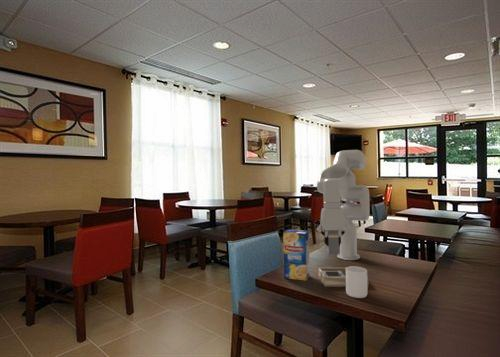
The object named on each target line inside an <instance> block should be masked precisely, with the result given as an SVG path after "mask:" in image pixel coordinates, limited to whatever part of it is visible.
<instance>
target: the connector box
mask: <svg viewBox="0 0 500 357" xmlns="http://www.w3.org/2000/svg"><path fill="white" fill-rule="evenodd" d="M317 271H318V273H317V275H318V278H319V280H320V281H321V284H322V285H323V286H324V288H346V267H318V269H317ZM369 283H370V282H369V276H367V288H369V286H370V284H369Z"/></svg>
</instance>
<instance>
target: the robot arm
mask: <svg viewBox="0 0 500 357" xmlns="http://www.w3.org/2000/svg"><path fill="white" fill-rule="evenodd" d="M366 166H367V158H366V156H365V154H364V152H362V151H361V150H359V149H346V150H340V151H338V152H336V154H335V156H334V159H333V161H332V165H331V166H328V167H327V168H326V169H323V171H321V173H320V174H319V176H318V179H317V182H316V189H317V191H318V193H321V194H323V195H322V196H323V208H321V211H320V221H319V222H320V224H319V225H318V226H317V228H316V231H317V232H318V233H320V234H321V235H322V236H323V237H324V239H323V240H324V244H325V246H326V247H327V246H329V242H328V236H327V235H328V231H337V232H339V254H336V255H337V256H336V257H337V258H339V259H341V260H345V261H357V260H360V258H361V256H360V254H358V239H357V238H358V236H357V226H356V224H355V223H354V222H353V221H360V222H363V221H364V222H366V221H368V220H369V219H370V214H371V213H370V190H369V187H368V186H367V185H365V184H364V185H363V184H362V185H361V184H358V185H357V184H356V175H355V174H354V173H353V171H352V170H363V169H365V168H366ZM341 200H342V201H344V202H357V203H344V202H341ZM358 202H360V203H358Z"/></svg>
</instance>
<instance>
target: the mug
mask: <svg viewBox="0 0 500 357" xmlns="http://www.w3.org/2000/svg"><path fill="white" fill-rule="evenodd" d="M345 268H346V287H345V291H346V292H345V293H346V295H347V296H349V297H351V298H355V299H364V298H366V297H367V295H368V287H367V277H368V269H367V268H365V267H362V266H355V265H353V266H347V267H345Z"/></svg>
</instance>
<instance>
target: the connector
mask: <svg viewBox="0 0 500 357" xmlns="http://www.w3.org/2000/svg"><path fill="white" fill-rule="evenodd" d="M327 236H328V242H329V246H326V253H327V254H328V255H338V254H339V253H340V246H339V232H337V231H328V235H327Z"/></svg>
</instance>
